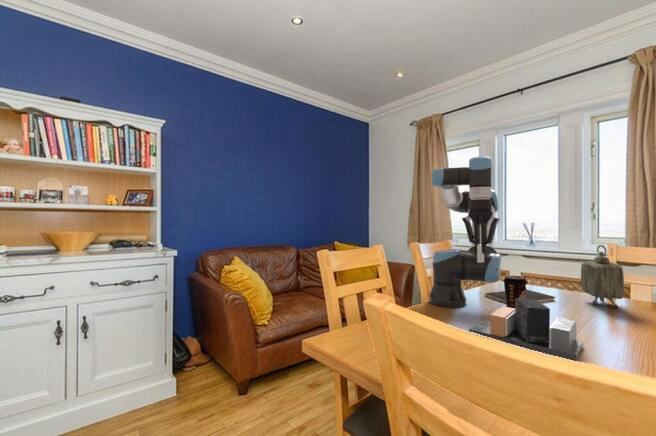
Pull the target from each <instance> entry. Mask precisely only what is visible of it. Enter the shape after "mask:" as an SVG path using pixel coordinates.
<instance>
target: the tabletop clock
mask: <svg viewBox="0 0 656 436" xmlns="http://www.w3.org/2000/svg"><path fill="white" fill-rule="evenodd" d="M596 247H597V248H596V252H597V254H598V256H595V257H594V259H593V260H592V261H590V260H589V261H586V262H583V263H581V269H580V283H581V284H580V285H581V290H582V291H583V292H585V293H587V294H588V295H589V296H591V297H594V299H593V300H592V304H593V305H598V299H599V301H601V302H605V299H607V300H609V301H610V303H611V304H612V306H613V308H614V309H619V306H618V304H616V303H615V301H614V300H613V299H615V300H622V299H623V297H624V292H625V291H624V289H625V288H624V287H625V281H624V280H625V276H624V270H623V267H622V266H621V265H620V264H618V263H616V262H613V261H610V259H609V258H608V257H607V256H606V255H607V248H606V247H605V245H603V244H599V245H598V246H596ZM600 247H601V248H603V249H604V251H599V249H600Z"/></svg>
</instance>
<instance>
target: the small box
mask: <svg viewBox="0 0 656 436" xmlns="http://www.w3.org/2000/svg"><path fill="white" fill-rule="evenodd" d="M550 311H551V309H550V307H548V306H546V305H545V304H543V302H539V301H537V300H534V299H521V298H515V330H516V332H517V333H518V334H519V335H520V336H521V337H522V338H523V339H524V340H525V341H526V342H532V343H543V344H549V328H550V326H551V324H550V323H551V322H550V321H551V320H550V319H551V318H550V317H551V315H550V314H551V312H550Z"/></svg>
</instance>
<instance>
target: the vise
mask: <svg viewBox="0 0 656 436" xmlns="http://www.w3.org/2000/svg"><path fill="white" fill-rule="evenodd" d="M469 331H470V332H474V333H477V334H480V335H483V336H487V337H491V338H494V339H497V340H501V341H504V342H503V343H505V342H507V343H506V344H509V343H510V344H509V345H513V344H514V346H517V345H518V347H521V348H525V349H528V350H533V351H538V352H540V353H544V354H545V353H546V354H548V355H552V356H557V357H560V358H565V359H568V360H572V361H575V362H576V361H577V360H578V358H579V356H580V354H581V352H582V350H583V348H584V342H583V341H581V340H577V319H571V318H567V317H561V316H559V317H558V318H556V319H555V320H554V322H553V323H552V324H550V328H549V344H543V343H532V342H526V341H525V340H524V339H523V338H522V337H521V336H520V335H519V334H518V333H517V332H516V330H515V329H514V330H513V331H512V332H511V333H510V334H509V335H508V336H505V337H502V336H498V335H494V334H490V320H485V319H481V320H480V321H478V322H477V323H475V324H473V325H472V326H471V327H469V328H468V332H469ZM497 340H496V341H497ZM501 341H500V342H501Z"/></svg>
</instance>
